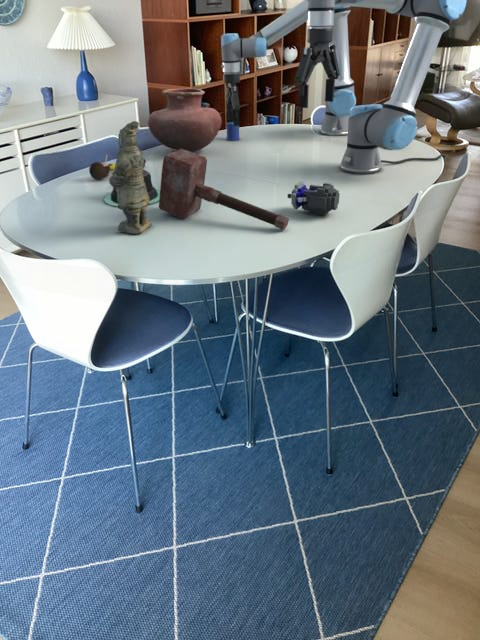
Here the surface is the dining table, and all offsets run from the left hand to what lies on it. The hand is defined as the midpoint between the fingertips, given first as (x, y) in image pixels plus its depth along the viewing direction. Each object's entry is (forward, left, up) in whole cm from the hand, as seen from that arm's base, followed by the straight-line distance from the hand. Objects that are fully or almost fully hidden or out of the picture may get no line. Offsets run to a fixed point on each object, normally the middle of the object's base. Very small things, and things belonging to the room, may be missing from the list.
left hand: (233, 123), depth 256 cm
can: (0, 0, -7) cm, 7 cm away
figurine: (+68, +14, -7) cm, 70 cm away
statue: (+93, +70, -7) cm, 117 cm away
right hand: (+31, +82, +21) cm, 90 cm away
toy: (+45, +95, -7) cm, 106 cm away
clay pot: (+29, +4, -7) cm, 30 cm away
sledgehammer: (+70, +82, -7) cm, 108 cm away
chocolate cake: (+79, +44, -7) cm, 90 cm away
